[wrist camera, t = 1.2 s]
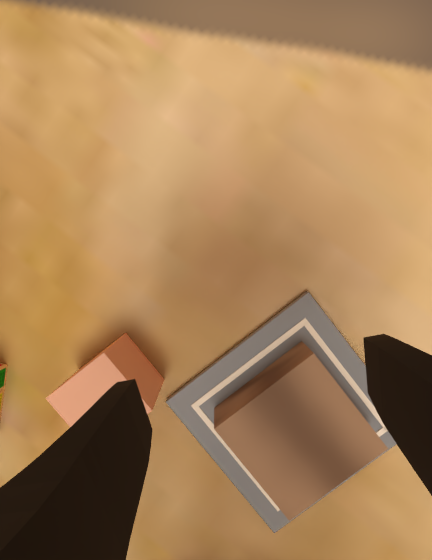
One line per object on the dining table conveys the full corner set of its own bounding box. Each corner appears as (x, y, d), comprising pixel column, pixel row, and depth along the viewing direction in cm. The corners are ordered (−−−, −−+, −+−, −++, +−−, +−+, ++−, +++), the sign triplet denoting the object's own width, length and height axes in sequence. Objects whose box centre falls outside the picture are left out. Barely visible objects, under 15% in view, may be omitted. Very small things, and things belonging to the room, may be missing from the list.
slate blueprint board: (273, 526, 26) (274, 534, 25) (166, 398, 25) (165, 402, 25) (410, 426, 26) (415, 431, 25) (306, 291, 25) (309, 292, 24)
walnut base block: (280, 489, 25) (289, 521, 22) (214, 407, 25) (213, 429, 22) (367, 425, 25) (388, 448, 22) (301, 340, 24) (313, 353, 21)
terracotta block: (117, 415, 26) (94, 454, 21) (79, 369, 25) (45, 398, 20) (164, 379, 25) (152, 410, 20) (125, 332, 25) (103, 352, 20)
